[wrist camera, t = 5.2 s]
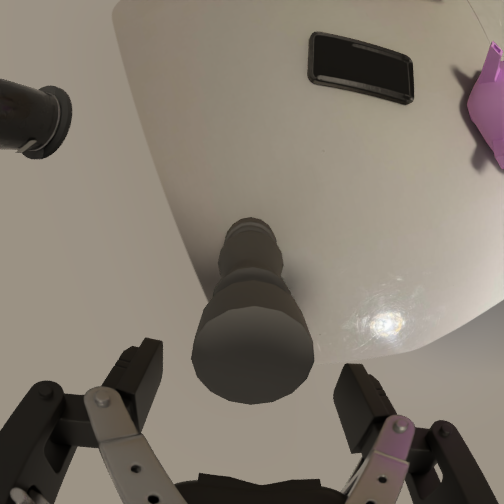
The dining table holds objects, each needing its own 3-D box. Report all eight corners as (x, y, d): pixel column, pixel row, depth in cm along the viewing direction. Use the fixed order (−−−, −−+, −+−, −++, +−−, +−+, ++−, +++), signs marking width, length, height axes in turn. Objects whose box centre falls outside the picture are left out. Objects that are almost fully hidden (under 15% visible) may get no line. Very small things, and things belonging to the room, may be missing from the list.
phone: (414, 104, 31) (309, 79, 31) (410, 106, 32) (307, 82, 32) (412, 56, 29) (311, 29, 29) (408, 59, 30) (309, 32, 30)
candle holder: (236, 272, 38) (218, 418, 14) (218, 227, 36) (162, 325, 12) (281, 255, 37) (332, 386, 13) (264, 210, 36) (298, 279, 12)
